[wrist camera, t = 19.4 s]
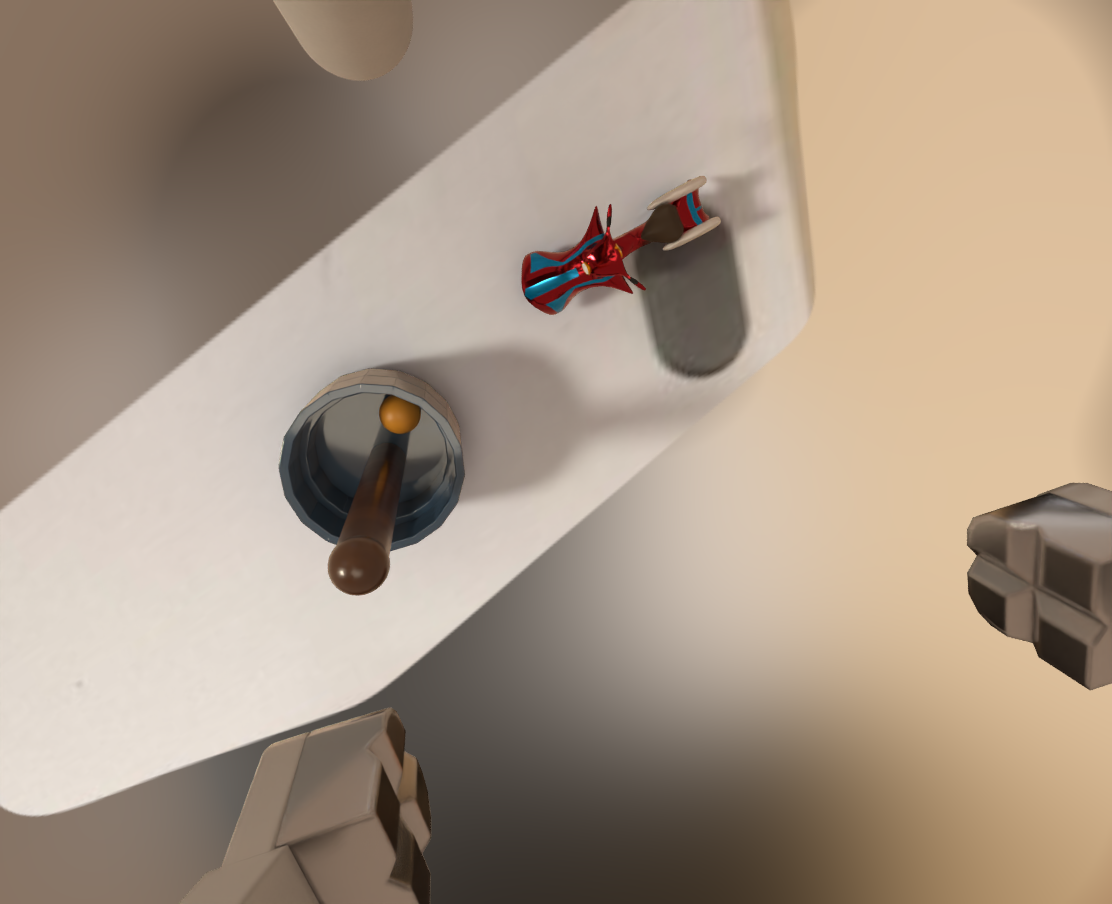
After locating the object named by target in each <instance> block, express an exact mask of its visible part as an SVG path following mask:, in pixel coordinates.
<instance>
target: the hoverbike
mask: <svg viewBox="0 0 1112 904" xmlns="http://www.w3.org/2000/svg"><path fill="white" fill-rule="evenodd" d="M705 183H706V177H705V176H699V177H697V178H694V179H690V180H688V181H687V182H686V183H684V184H682V185H680V186H678V187H676V188H675V189H673V190H671V191H669V192H667V193H665V194H664V195H662V196H660V197H659V198H657V199H656V200H654V201H653V202H652V203H651V204H650V205H649V206H648V207H647V210H654V209H655V210H654V212H653V213H652V215H651V216H650V218H649V219H648V220H647V221H646V222H645V223H643V224H641V225H639V226H638V227H636V228H634V229H632V230H630V231H628V232H626V233H624V234H622V235H620V236H618V237H616V238H613V239H612V237H611V234H610V225H611V218H612V206H611V204H610V205H609V208H608V212H607V229H606V233H604V231H603V228H602V225H601V221H600V217H599V213H598V209H597V206H596V207H595V209H594V212H593V216H592V219H591V222H590V224H589V227H588V229H587V232H586V233H585V235H584V237H583V239H582V240H581V241H580V242H579V243H578V244H577V245H576V246H575V247H573V248H572V249H570V250H567V251H564V252H545V251H534V252H531V253H529V254H527V255H526V256H525V258H524V260H523V264H522V289H523V292H524V295H525V297H526V299H527V300H528V301H529V302H530V303H531V304H532V305H533V306H534V307H536V308H537V309H539V310H540V311H542V312H544V313H546V314H549V315H554V314H557V313H559V312H561V311H562V310H563V309H565V307H566V306H567V305H568V304H569V302H570V301H571V300H572V299H573V298H574V297H575V296H576V295H577V294H578V293H580V292H582V291H583V290H586V289H588V288H591V287H598V286H606V287H612V288H616V289H619V290H622V291H625V292H628V293H631V294H633V292H632V290H631V289H630V287H629V285H628V284H627V282H626V281H625V279H624V277H623V276H625V277H626V278H627V279H629V280H630V281H631V282H632V283H633V284H634V285H636V286H637V287H638V288H640V289H642V290H646V288H645V287H644V286H643V285H642V284H641V283H639V282H638V281H637V280H635V279H634V278H632V277H630V276H629V275H628V274H627V272H626V270H625V267H624V264H623V261H622V259H624V258H625V257H626V256H627V255H629V254H630V253H632V252H633V251H635V250H636V249H638V248H640V247H642V246H644V245H647V244H649V243H651V242H660V243H667V244H666V245H665V246H664V247H663V250H671V249H674V248H676V247H679V246H681V245H683V244H685V243H687V242H689V241H691V240H693V239H695V238H697V237H699V236H701V235H703V234H705V233H706V232H708V231H710V230H712V229H713V228H715V227H716V226H718V225H719V224H720V223H721V220H720V218H719V217H714V218H711V219H710V218H709V216H708V215H706V214H705V213H704V210H703V207H702V205H701V202H700V199H699V195H698V192H699V188H700V187H701V186H703V185H704V184H705Z"/></svg>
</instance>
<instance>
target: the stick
mask: <svg viewBox="0 0 1112 904" xmlns="http://www.w3.org/2000/svg"><path fill="white" fill-rule="evenodd" d="M405 462H406V458H405V454H404V452H403V451H402V449H401V448H400V447H398V446H397V445H395V444H392V443H382V444H379V445H377V446H376V447H375V448H373V450H372V451H371V453H370V455H369V458H368V461H367V464H366V466H365V469H364V472H363V475H362V477H361V480H360V483H359V485H358V488H357V491H356V494H355V496H354V499H353V502H352V504H351V507H350V510H349V513H348V515H347V518H346V521H345V523H344V526H343V529H342V532H341V534H340V537H339V540H338V543H337V545H336V547H335V548H334V549H333V551H332V552H331V554H330V557H329V560H328V574H329V577H330V579H331V581H332V583H333V584H334V585H335V587H336V588H338V589H339V590H340V591H342V592H344V593H346V594H349V595H365V594H368V593H371V592H373V591H374V590H376V589H377V588H378V587H380V586H381V585H382V584H383V582H384V581H385V579H386V578H387V575H388V573H389V569H390V558H389V554H390V548H391V543H392V537H393V531H394V525H395V520H396V514H397V508H398V502H399V497H400V491H401V485H402V479H403V474H404V468H405Z"/></svg>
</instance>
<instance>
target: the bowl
mask: <svg viewBox="0 0 1112 904" xmlns="http://www.w3.org/2000/svg"><path fill="white" fill-rule="evenodd" d="M390 395H393V396H396V397H398V398H400V399H403V400H405V401H408V402H410V403H412V404H415V405H417V406H419V407H420V410H421V418H420V421H419V423H418V425H417V426H416V427H415V428H414V429H413V430H412V431H410V432H408V433H404V434H397V433H393V432H391V431H389V430H387V429H386V428H385V427H384V426H383V424H382V423H381V421H380V417H379V409H380V406H381V404H382V402H383V401H384V400H385V399H386V398H387V397H388V396H390ZM382 443H392V444H395V445H397V446H398V447H400V448H401V449H402V451H403V452H404V454H405V458H406V462H405V468H404V474H403V479H402V485H401V491H400V497H399V502H398V508H397V514H396V520H395V525H394V531H393V537H392V543H391V548H390V551H393V550H396V549H399V548H403V547H406V546H410V545H413V544H416V543H418V542H420V541H421V540H422V539H424V538H425V537H427V536H428V535H429V534H431V533H432V532H434V531H435V530H437V529H438V528H439V527H441V526H442V524H443V523H444V522H445V520H446V519H447V517H448V516H449V515H450V513H451V512H452V510H453V509H454V508H455V506H456V505H457V503H458V500H459V496H460V493H461V489H462V485H463V481H464V477H465V471H464V462H463V454H462V445H461V437H460V429H459V424H458V422H457V420H456V418H455V416H454V414H453V412H452V410H451V408H450V406H449V405H448V403H447V402H446V400H445V399H444V398H443V397H442V396H441V395H440V394H438V393H437V392H436V391H435V390H434V389H433V388H432V387H431V386H430V385H429V384H428V383H426V382H425V381H423V380H420V379H418V378H416V377H413V376H411V375H409V374H406V373H404V372H402V371H398V370H387V369H374V368H371V369H365V370H361V371H357V372H354V373H350V374H346V375H343V376H341V377H339V378H338V379H336V380H335V381H334V382H332V383H331V384H329V385H328V386H326V387H325V388H324V389H322V390H321V391H319V392H318V393H317V395H316V396H315V397H314V398H313V399H312V400H311V401H310V402H309V403H308V404H307V405H306V406H305V407H304V408H303V409H302V410H301V411H300V413H299V414H298V416H297V418H296V419H295V421H294V422H293V424H292V425H291V427H290V428H289V430H288V431H287V433H286V435H285V436H284V439H283V444H282V450H281V455H280V461H279V472H280V477H281V482H282V486H283V491H284V495H285V498H286V499H287V501H288V502H289V504H290V505H291V507H292V508H293V510H294V511H295V513H296V515H297V516H298V518H299V519H300V521H301V522H302V523H303V524H304V525H306V526H307V527H308V528H310V529H311V530H312V531H314V532H315V533H316V534H318V535H319V536H320V537H322V538H323V539H324V540H326V541H328V542H330V543H333V544H336V545H337V543H338V540H339V537H340V534H341V532H342V529H343V526H344V523H345V521H346V518H347V515H348V513H349V510H350V507H351V504H352V502H353V499H354V496H355V494H356V491H357V488H358V485H359V483H360V480H361V477H362V475H363V472H364V469H365V466H366V464H367V461H368V458H369V455H370V453H371V451H372V450H373V448H375V447H376V446H377V445H379V444H382Z"/></svg>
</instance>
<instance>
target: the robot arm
mask: <svg viewBox="0 0 1112 904" xmlns="http://www.w3.org/2000/svg"><path fill="white" fill-rule="evenodd" d="M967 546H968V547H969V548H970V549H971V550H972V551H973V552H974V553H975V554H976V555H977V556H976V558H975V560H974V562H973V563H972V565H971V567H970V569H969V571H968V572H967V575H968V592H969V595H970V597H971V599H972V601H973V603H974V605H975V607H976V609H977V611H978V612H979V614H980V615H981V616H982V617H983V618H984V619H985V620H986V621H987V622H988V623H989V624H990V625H991V626H992V627H994V628H996V629H997V630H998V631H1000V632H1001V633H1003V634H1004V635H1006V636H1008V637H1011V638H1015V639H1019V640H1023V641H1028V642H1031V643H1033V644H1034V647H1035V649H1036V652H1037V654H1038V657H1039V658H1041V659H1042V660H1044V661H1045V662H1047V663H1049V664H1050V665H1052V666H1053V667H1055V668H1056V669H1058V670H1060V671H1061V672H1063V673H1064V674H1066V675H1067V676H1069V677H1070V678H1072V679H1073V680H1075V681H1076V682H1078V683H1079V684H1081V685H1082V686H1084V687H1086V688H1087V689H1089V690H1093V689H1096V688H1099V687H1102V686H1105V685H1108V684H1111V683H1112V491H1110V490H1107V489H1103V488H1101V487H1098V486H1095V485H1092V484H1088V483H1069V484H1067V485H1064V486H1061V487H1058V488H1055V489H1052V490H1050V491H1047V492H1044V493H1042V494H1039V495H1037V496H1036V497H1034V498H1031V499H1028V500H1025V501H1022V502H1019V503H1016V504H1013V505H1010V506H1007V507H1004V508H1000V509H997V510H995V511H991V512H988V513H985V514H982V515H979V516H976V517H973V518H972V521H971V523H970V525H969V527H968V529H967ZM404 746H405V729H404V727H403V725H402V722H401V720H400V718H399V716H398V714H397V712H396V711H395V710H394V709H392V708H390V707H389V708H386V709H382V710H380V711H376V712H373V713H369V714H366V715H363V716H359V717H356V718H353V719H349V720H346V721H343V722H339V723H336V724H333V725H330V726H326V727H323V728H320V729H316V730H313V731H312V732H309V733H304V734H301V735H298V736H295V737H292V738H289V739H285V740H282V741H279V742H276V743H273V744H272V745H270V746H269V747H268V748H267V749H266V750H265V751H264V752H263V755H262V757H261V760H260V762H259V765H258V768H257V770H256V773H255V776H254V779H253V782H252V784H251V787H250V790H249V792H248V795H247V798H246V800H245V803H244V806H243V808H242V811H241V814H240V817H239V820H238V822H237V825H236V828H235V830H234V833H233V836H232V839H231V841H230V844H229V847H228V849H227V852H226V855H225V858H224V860H223V863H222V866H221V868H218V869H215V870H213V871H210V872H207V873H206V874H205V875H204V876H203V877H202V878H201V879H200V880H199V882H198V883H197V884H196V885H195V886H194V887H193V888H192V889H191V890H190V892H189V893H188V894H187V895H186V896H185V897H184V898H183V899H182V900H181V901H180V903H179V904H430V876H431V874H430V871H429V869H428V867H427V864H426V862H425V860H424V857H423V855H422V853H423V851H424V849H425V848H426V846H427V844H428V843H429V841H430V839H431V813H430V805H429V799H428V791H427V787H426V784H425V780H424V777H423V773H422V770H421V768H420V765H419V763H418V760H417V758H415V757H414V756H412V755H410V754H408V753H406V752H405V751H404Z"/></svg>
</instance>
